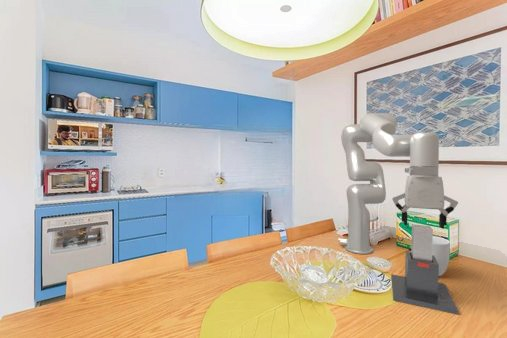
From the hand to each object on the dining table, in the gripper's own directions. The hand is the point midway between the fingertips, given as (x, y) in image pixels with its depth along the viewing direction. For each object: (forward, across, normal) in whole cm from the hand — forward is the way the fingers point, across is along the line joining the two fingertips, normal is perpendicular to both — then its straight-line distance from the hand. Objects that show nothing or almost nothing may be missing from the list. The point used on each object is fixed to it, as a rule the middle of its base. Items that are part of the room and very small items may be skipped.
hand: (423, 225), depth 81 cm
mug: (+22, +4, +20) cm, 30 cm away
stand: (+22, 0, +1) cm, 23 cm away
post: (+21, 0, +1) cm, 21 cm away
